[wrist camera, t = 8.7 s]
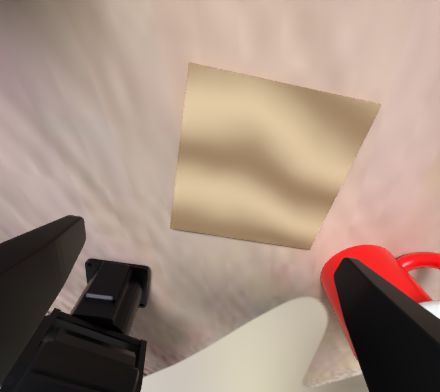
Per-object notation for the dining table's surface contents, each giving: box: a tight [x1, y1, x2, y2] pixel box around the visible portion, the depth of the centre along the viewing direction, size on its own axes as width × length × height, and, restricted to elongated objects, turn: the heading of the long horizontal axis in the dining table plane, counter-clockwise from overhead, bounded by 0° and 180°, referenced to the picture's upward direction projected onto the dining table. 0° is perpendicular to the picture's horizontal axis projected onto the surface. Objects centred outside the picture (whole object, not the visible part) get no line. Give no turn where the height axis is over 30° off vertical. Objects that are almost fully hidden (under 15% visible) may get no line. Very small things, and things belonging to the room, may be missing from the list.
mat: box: [170, 63, 381, 250], centre depth 20 cm, size 14×14×1 cm
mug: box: [320, 245, 440, 360], centre depth 22 cm, size 8×12×8 cm, turn 128°
